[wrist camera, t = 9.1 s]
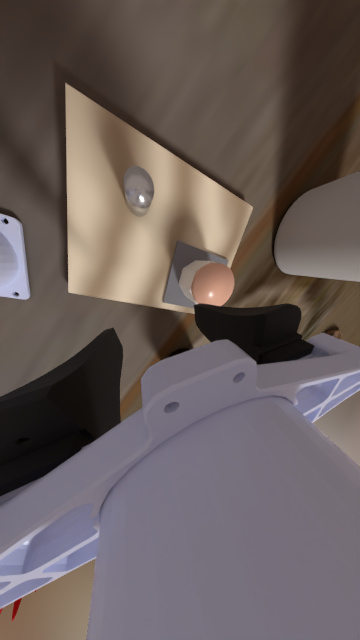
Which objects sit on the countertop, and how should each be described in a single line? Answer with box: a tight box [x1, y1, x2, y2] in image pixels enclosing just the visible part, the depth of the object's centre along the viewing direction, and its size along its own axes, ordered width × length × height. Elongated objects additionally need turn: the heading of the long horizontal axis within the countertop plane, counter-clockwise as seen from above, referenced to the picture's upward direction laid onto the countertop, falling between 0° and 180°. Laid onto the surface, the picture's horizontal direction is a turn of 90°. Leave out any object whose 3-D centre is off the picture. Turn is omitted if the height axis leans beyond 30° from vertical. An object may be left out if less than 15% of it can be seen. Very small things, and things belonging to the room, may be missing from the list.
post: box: [124, 166, 154, 217], centre depth 12 cm, size 2×2×4 cm
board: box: [65, 83, 253, 314], centre depth 17 cm, size 20×16×2 cm
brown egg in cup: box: [179, 260, 234, 306], centre depth 17 cm, size 5×5×5 cm
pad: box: [163, 241, 229, 308], centre depth 19 cm, size 8×8×1 cm
